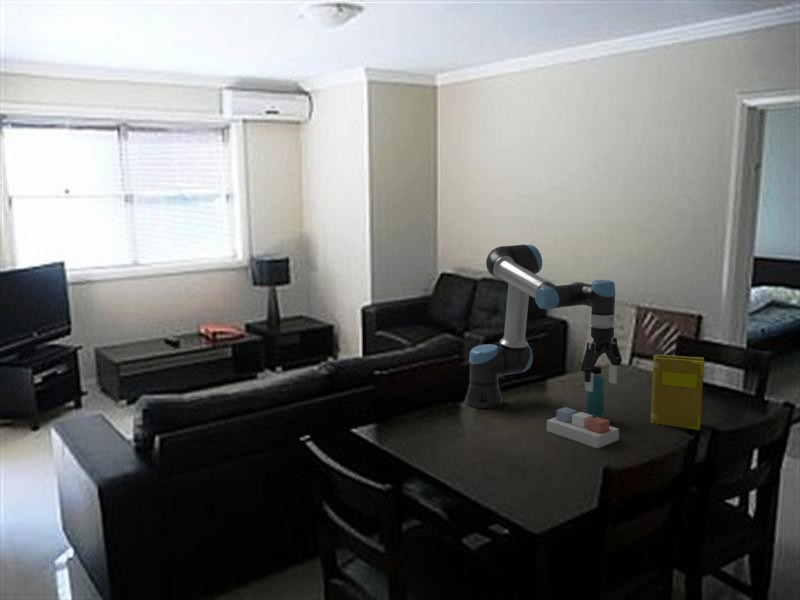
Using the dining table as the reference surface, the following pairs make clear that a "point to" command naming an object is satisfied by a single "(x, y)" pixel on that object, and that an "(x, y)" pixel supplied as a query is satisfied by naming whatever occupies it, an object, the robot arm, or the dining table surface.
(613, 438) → the key panel
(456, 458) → the dining table surface
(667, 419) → the book
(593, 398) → the beverage bottle
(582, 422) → the white key
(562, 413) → the blue key
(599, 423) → the red key
